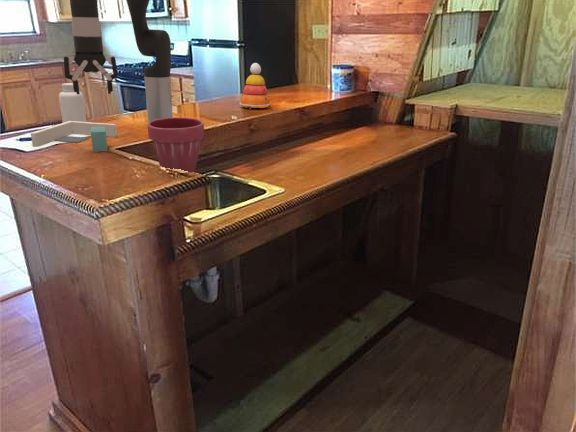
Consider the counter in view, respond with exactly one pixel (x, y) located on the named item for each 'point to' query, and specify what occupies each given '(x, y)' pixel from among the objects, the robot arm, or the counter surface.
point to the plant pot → (176, 141)
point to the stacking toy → (255, 89)
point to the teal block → (98, 139)
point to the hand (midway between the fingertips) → (93, 93)
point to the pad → (71, 139)
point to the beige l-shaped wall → (69, 131)
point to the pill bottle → (71, 104)
